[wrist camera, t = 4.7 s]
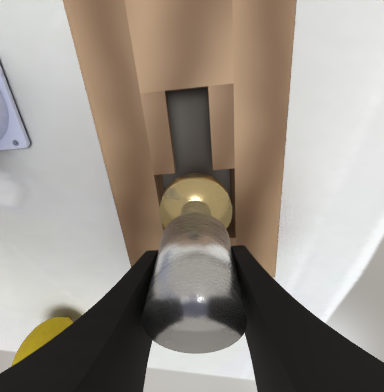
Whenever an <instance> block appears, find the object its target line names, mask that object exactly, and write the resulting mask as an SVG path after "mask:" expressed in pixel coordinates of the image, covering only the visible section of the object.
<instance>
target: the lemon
mask: <svg viewBox="0 0 384 392" xmlns="http://www.w3.org/2000/svg"><path fill="white" fill-rule="evenodd" d="M72 323H74V322H73V321H71V318H70V317H69V316H67V317H55V318H51V319H48V320H46V321H44V322H43V323H41V324H40V325H38V326H37V327H36V328H35V329H34V330H33V331H32V332H31V333H30V334H29V335H28V336H27V338H26V339H25V340H24V342H23V343H22V344H21V346H20V348H19V350H18V351H17V353H16V356H15V358H14V360H13V363H12V366H13V365H15V364H16V363H18V362H19V361H21V360H22V359H24V358H25V357H27V356H28V355H30V354H31V353H33V352H34V351H36V350H37V349H39V348H40V347H41V346H43V345H44V344H46V343H47V342H49V341H50V340H51V339H53V338H54V337H55V336H57V335H58V334H59V333H61V332H62V331H63V330H64V329H66V328H67V327H68V326H70V325H71V324H72Z"/></svg>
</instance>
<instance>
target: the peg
mask: <svg viewBox="0 0 384 392" xmlns="http://www.w3.org/2000/svg"><path fill="white" fill-rule="evenodd" d="M232 212H233V211H232V204H231V201H230V198H229V194H228V192H227V190H226V188H225V187H224V186H223V184H222V183H221V182H220V181H218V180H217V179H215V178H214V177H212V176H209V175H206V174H202V173H190V174H186V175H182V176H180V177H178V178H176V179H175V180H173V181H172V182H171V183H170V184H169V185H168V187H167V188H166V190H165V192H164V194H163V197H162V200H161V203H160V208H159V214H160V219H161V222H162V224H163V226H164V227H165V229H164V231H163V234H162V238H161V242H160V246H159V250H158V254H157V258H156V262H155V266H154V270H153V274H152V278H151V283H150V287H149V291H148V295H147V299H146V303H145V307H144V311H143V315H142V325H143V328H144V330H145V332H146V334H147V335H148V336H149V337H150V338H151V339H152V340H153V341H155V342H156V343H158V344H159V345H161V346H163V347H165V348H168V349H171V350H174V351H178V352H183V353H209V352H214V351H218V350H221V349H224V348H227V347H229V346H231V345H232V344H234V343H235V342H237V341H238V340H239V339H240V338H241V337H242V336H243V334H244V332H245V330H246V328H247V317H246V312H245V308H244V303H243V299H242V294H241V289H240V285H239V280H238V276H237V271H236V266H235V262H234V258H233V253H232V248H231V244H230V239H229V235H228V232H227V227H228V226H229V224H230V222H231V219H232Z"/></svg>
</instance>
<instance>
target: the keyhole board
mask: <svg viewBox="0 0 384 392" xmlns="http://www.w3.org/2000/svg"><path fill="white" fill-rule="evenodd" d="M296 2H297V0H63V3H64V7H65V11H66V15H67V18H68V22H69V26H70V30H71V34H72V38H73V42H74V46H75V50H76V54H77V57H78V61H79V65H80V69H81V73H82V77H83V81H84V85H85V89H86V92H87V96H88V100H89V104H90V108H91V112H92V116H93V120H94V124H95V128H96V131H97V135H98V139H99V143H100V147H101V151H102V155H103V159H104V163H105V166H106V170H107V174H108V178H109V182H110V186H111V190H112V194H113V198H114V202H115V205H116V209H117V213H118V217H119V221H120V225H121V229H122V233H123V237H124V240H125V244H126V248H127V252H128V256H129V260H130V264H131V267H132V266H133V265H134V264H135V263H136V262H137V261H138V259H139V258H140V257H141V256H142V255H143V254H144V253H145V252H146V251H150V250H159V246H160V242H161V238H162V234H163V231H164V229H165V227H164V226H163V224H162V222H161V219H160V214H159V208H160V203H161V200H162V197H163V194H164V192H165V190H166V188H167V187H168V185H169V184H170V183H171V182H172V181H173V180H175V179H176V178H178V177H180V176H182V175H186V174H190V173H202V174H206V175H209V176H212V177H214V178H215V179H217V180H218V181H220V182H221V183H222V184H223V186H224V187H225V188H226V190H227V192H228V194H229V198H230V201H231V204H232V211H233V212H232V219H231V222H230V224H229V226H228V227H227V232H228V235H229V239H230V244H231V246H237V245H244V246H246V247H247V249H248V250H249V251H250V253H251V254H252V255H253V256H254V258H255V259H256V260H257V261H258V262H259V263H260V265H261V266H262V267H263V268H264V269H265V270H266V271H267V272H268V273H269V274H270V276H271V277H275V271H276V258H277V246H278V233H279V220H280V207H281V194H282V181H283V169H284V156H285V143H286V130H287V117H288V104H289V92H290V79H291V66H292V53H293V40H294V28H295V15H296Z"/></svg>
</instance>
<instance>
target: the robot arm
mask: <svg viewBox="0 0 384 392" xmlns="http://www.w3.org/2000/svg"><path fill="white" fill-rule="evenodd" d="M16 141H18V143H19V145H18V144H17V143H16ZM29 145H30V142H29V139H28V136H27V134H26V131H25V129H24V126H23V123H22V121H21V118H20V116H19V113H18V110H17V108H16V105H15V102H14V100H13V97H12V95H11V92H10V89H9V87H8V84H7V81H6V79H5V76H4V74H3V71H2V68H1V66H0V150H11V149H21V148H27V147H29ZM231 248H232V253H233V258H234V262H235V266H236V271H237V276H238V280H239V285H240V289H241V294H242V299H243V303H244V308H245V312H246V317H247V328H246V330H245V336H246V339H247V343H248V347H249V351H250V355H251V359H252V364H253V369H254V375H255V380H256V385H257V391H258V392H384V362H382V361H380V360H378V359H377V358H375V357H374V356H372V355H371V354H369V353H368V352H366V351H365V350H363V349H362V348H360V347H358V346H357V345H355V344H354V343H352V342H351V341H349V340H348V339H346V338H345V337H344V336H342V335H341V334H339V333H338V332H337V331H335V330H334V329H332V328H331V327H329V326H328V325H327V324H326V323H324V322H323V321H321V320H320V319H319V318H317V317H316V316H315V315H314V314H312V313H311V312H310V311H308V310H307V309H306V308H305V307H304V306H302V305H301V304H300V303H299V302H298V301H297V300H295V299H294V298H293V297H292V296H291V295H290V294H289V293H288V292H287V291H286V290H284V289H283V288H282V287H281V286H280V285H279V284H278V283H277V282H276V281H275V280H274V279H273V278H272V277H271V276H270V274H269V273H268V272H267V271H266V270H265V269H264V268H263V267H262V266H261V265H260V263H259V262H258V261H257V260H256V259H255V258H254V256H253V255H252V254H251V253H250V251H249V250H248V249H247V247H246V246H244V245H237V246H231ZM157 254H158V250H150V251H146V252H145V253H144V254H143V255H142V256H141V257H140V258H139V259H138V261H137V262H136V263H135V264H134V265H133V266H132V267H131V269H130V270H129V271H128V272H127V273H126V274H125V275H124V276H123V277H122V278H121V280H120V281H119V282H118V283H117V284H116V285H115V286H114V287H113V288H112V289H111V290H110V291H109V292H108V293H107V294H106V295H105V296H104V297H103V298H102V299H101V300H100V301H98V302H97V303H96V304H95V305H94V306H93V307H92V308H91V309H89V310H88V311H87V312H86V313H85V314H84V315H82V316H81V317H80V318H79V319H77V320H76V321H75V322H74V323H72V324H71V325H70V326H68V327H67V328H66V329H64V330H63V331H62V332H61V333H59V334H58V335H57V336H55V337H54V338H53V339H51V340H50V341H49V342H47V343H46V344H44V345H43V346H41V347H40V348H39V349H37V350H36V351H34V352H33V353H31V354H30V355H28V356H27V357H25V358H24V359H22V360H21V361H19V362H18V363H16V364H15V365H13V366H12V367H10V368H9V369H7V370H5V371H4V372H2V373H1V374H0V392H143V387H144V380H145V374H146V368H147V362H148V357H149V352H150V348H151V344H152V339H151V338H150V337H149V336H148V335H147V334H146V332H145V330H144V328H143V325H142V315H143V311H144V307H145V303H146V299H147V295H148V291H149V287H150V283H151V278H152V274H153V270H154V266H155V262H156V258H157Z"/></svg>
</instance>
